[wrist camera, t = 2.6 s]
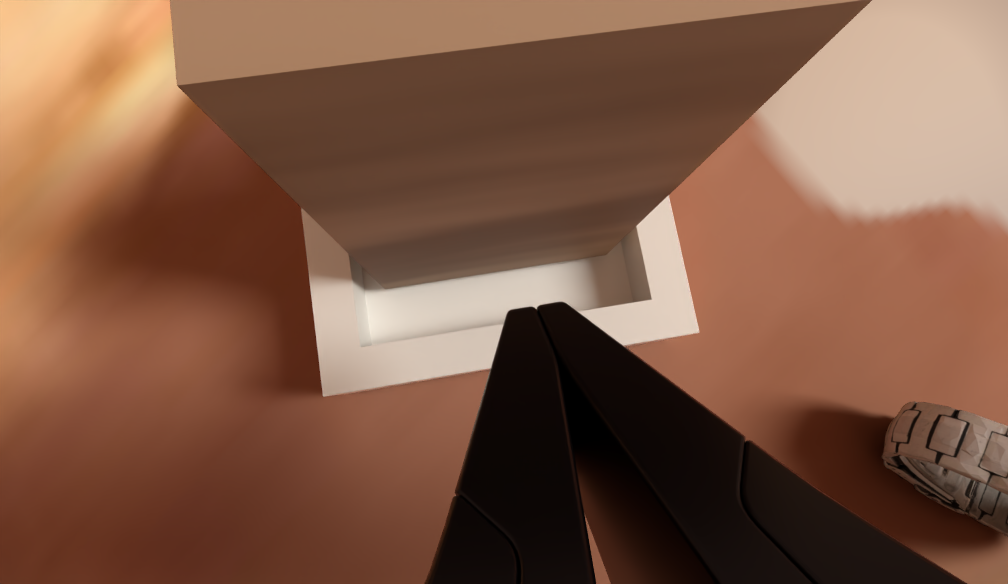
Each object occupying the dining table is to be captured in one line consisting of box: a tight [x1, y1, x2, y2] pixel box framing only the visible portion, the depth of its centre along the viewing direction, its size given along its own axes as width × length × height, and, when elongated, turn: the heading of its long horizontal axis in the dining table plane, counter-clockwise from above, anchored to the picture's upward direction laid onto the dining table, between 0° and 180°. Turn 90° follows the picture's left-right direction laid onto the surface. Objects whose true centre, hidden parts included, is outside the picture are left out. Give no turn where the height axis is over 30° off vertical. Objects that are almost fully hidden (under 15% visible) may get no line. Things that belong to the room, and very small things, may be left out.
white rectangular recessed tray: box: [301, 195, 699, 397], centre depth 15 cm, size 17×9×2 cm, turn 10°
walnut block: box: [170, 0, 872, 289], centre depth 10 cm, size 4×6×10 cm, turn 100°
